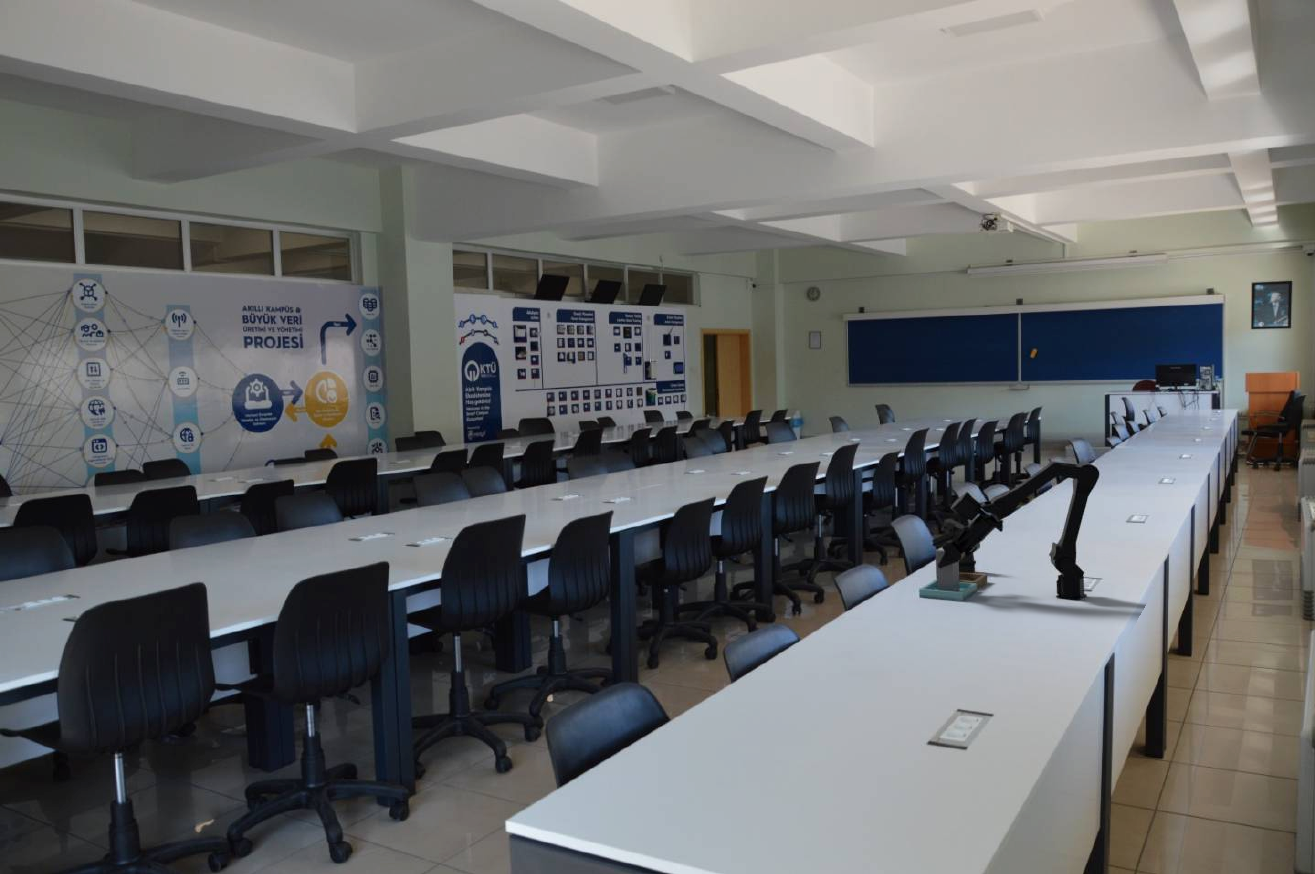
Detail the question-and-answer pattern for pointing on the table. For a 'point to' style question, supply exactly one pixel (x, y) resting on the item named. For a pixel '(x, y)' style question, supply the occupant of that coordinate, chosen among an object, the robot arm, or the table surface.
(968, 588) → the teal tray
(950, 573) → the grey lidded box
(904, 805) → the table surface
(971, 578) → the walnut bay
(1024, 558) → the table surface
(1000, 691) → the table surface
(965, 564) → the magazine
